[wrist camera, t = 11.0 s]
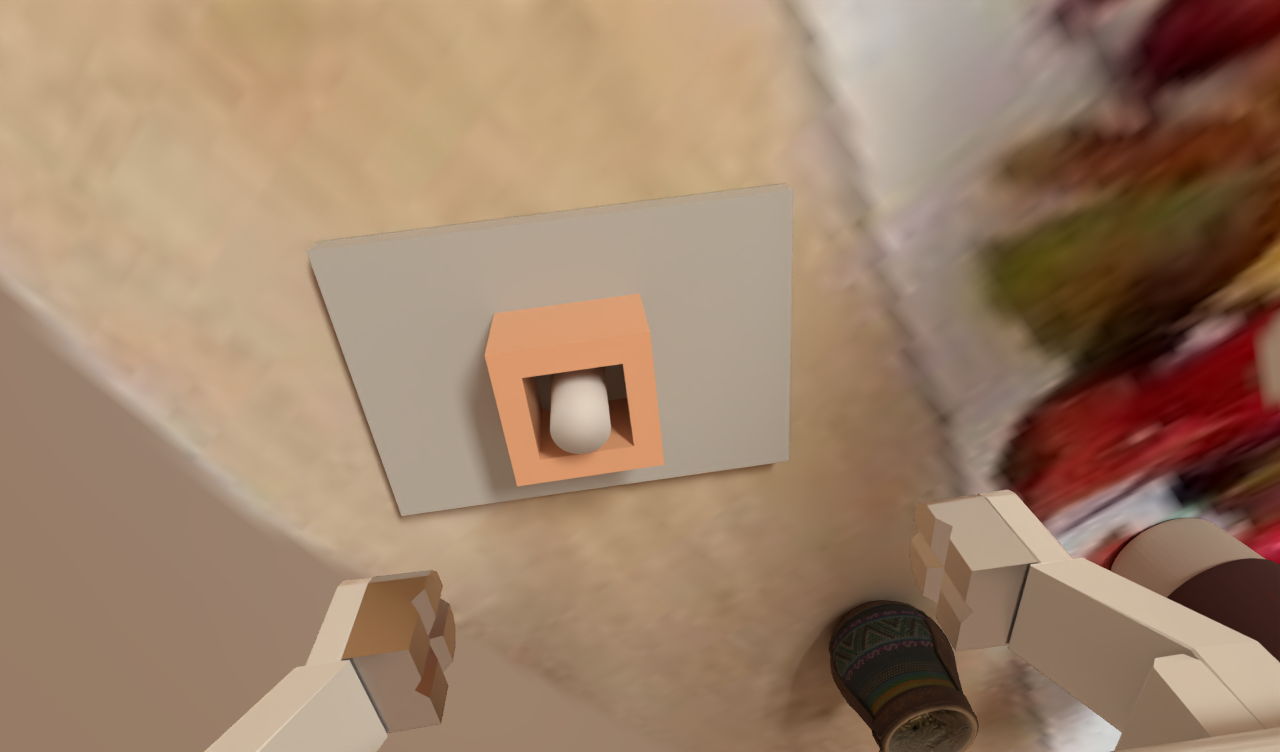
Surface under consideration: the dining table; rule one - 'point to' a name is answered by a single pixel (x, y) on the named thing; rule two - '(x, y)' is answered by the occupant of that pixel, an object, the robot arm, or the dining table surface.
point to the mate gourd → (902, 679)
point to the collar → (573, 344)
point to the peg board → (557, 264)
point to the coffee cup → (1208, 576)
